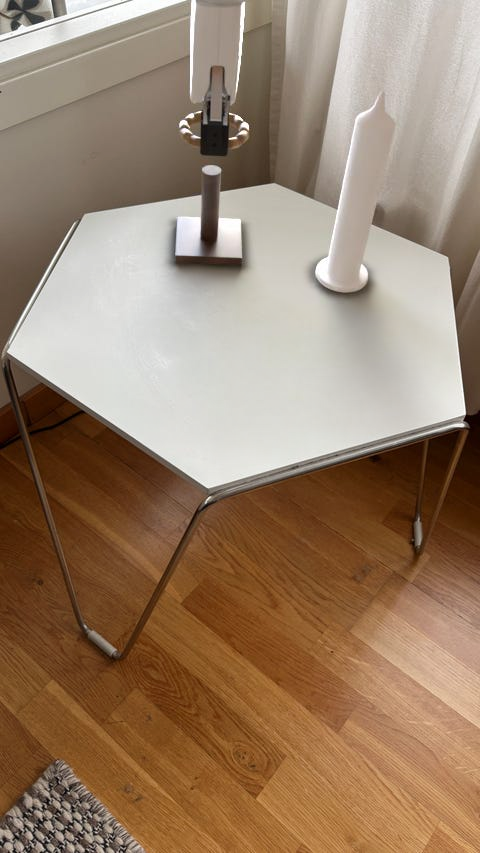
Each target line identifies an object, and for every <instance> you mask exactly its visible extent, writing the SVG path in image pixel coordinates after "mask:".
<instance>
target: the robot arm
mask: <svg viewBox="0 0 480 853" xmlns="http://www.w3.org/2000/svg"><path fill="white" fill-rule="evenodd" d="M250 1H251V0H191V11H190V63H189V64H190V66H189V67H190V71H189V72H190V74H189V75H190V76H189V77H190V81H189V82H190V83H189V88H190V89H189V99H190V102H191V103H192V104H195V105H196V104H197V103H202V102H203V104H202V106H203V108H202V109H200V112H201V122H200V136H199V137H200V149H199V152H200V153H199V154H200V155H201V156H208V157H226V156H228V155H229V154H228V153H229V150H228V139H229V135H230V124H229V113H230V111H229V106H232V105H233V104H234V103H235V102H236V97H237V91H238V83H239V74H240V67H241V56H242V46H243V35H244V34H243V32H244V21H245V20H244V18H245V4H246V3H248V2H250Z"/></svg>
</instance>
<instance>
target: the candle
mask: <svg viewBox="0 0 480 853" xmlns="http://www.w3.org/2000/svg"><path fill="white" fill-rule="evenodd" d="M385 96H386V94H385V91H383V90H381V91H380V92H379V94H378V95H377V97H376V100H375V102H374V104H373V105H372V107H371V108H370V109H367V110H366V111H362V112H360V113H359V114H358V115H357V116H356V117H355V121H354V126H353V131H352V135H351V142H350V147H349V151H348V156H347V161H346V166H345V171H344V176H343V180H342V187H341V192H340V196H339V202H338V206H337V211H336V217H335V222H334V226H333V230H332V231H333V232H332V237H331V241H330V246H329V251H328V256H327V257H325V258H323V259H321V260H320V261H319V262H318V263H317V265H316V268H315V277H316V279H317V281H318V282H319V283H320V284H321V285H322V286H323V287H325V288H327V289H328V290H331V291H334V292H336V293H337V292H338V293H344V294H345V293H354V292H358V291H360V290H361V289H363V288H365V286H366V285H367V283H368V281H369V272H368V269H367V268H366V267H365V265H363V260H364V256H365V253H366V248H367V244H368V239H369V236H370V231H371V227H372V223H373V219H374V215H375V211H376V208H377V204H378V198H379V195H380V191H381V186H382V183H383V179H384V174H385V170H386V166H387V162H388V158H389V154H390V150H391V146H392V143H393V138H394V134H395V130H396V122H395V119H394V118H393V117H392V116H391V115H390V114H389V113H388V111H387V110H386V106H385V105H386V103H385V100H386V99H385V98H386V97H385Z"/></svg>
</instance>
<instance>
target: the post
mask: <svg viewBox="0 0 480 853" xmlns="http://www.w3.org/2000/svg"><path fill="white" fill-rule="evenodd" d="M221 178H222V168H220V167H219V166H217V165H212V164H211V165H205V166H204V167H202V169H201V200H200V201H201V202H200V217H199V216H177V217H176V233H175V251H174V263H176V264H199V265H200V264H202V265H225V266H226V265H228V266H243V241H242V239H243V238H242V219H241V218H224V217H223V218H221V217H220V202H221V200H220V199H221V184H222V183H221V180H222V179H221Z"/></svg>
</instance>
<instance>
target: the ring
mask: <svg viewBox="0 0 480 853" xmlns="http://www.w3.org/2000/svg"><path fill="white" fill-rule="evenodd" d="M196 124H201V111H197V112H193V113H190V114H188V115H187V116H186V117H185V118H183V119H182V120H180V122H179V124H178V125H179V127H178V135H179V137H180V138H181V139H182V140H183V141H184V142H185V143H186V144H187V145H188V146H190V147H193V148H195V149H199V150H200V136H197V135H195V134H193V133H192V131H190V129H191V127H193V126H194V125H196ZM230 125H231V126H233V127H234V128H236V129H237V130H238V133H237V134H236V135H235V136H234V137H230V138H228V151H230V150H234V149H238V148H240V147H241V146H242V145H243V144H244V143H246V142H247V141H248V140H249V138H250V129H249V128H250V127H249V124H248V123H247V122H246V121H244V120H243V119H242V118H241V117H240V116H238V115H236V114H234V113H230V112H229V126H230Z"/></svg>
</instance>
